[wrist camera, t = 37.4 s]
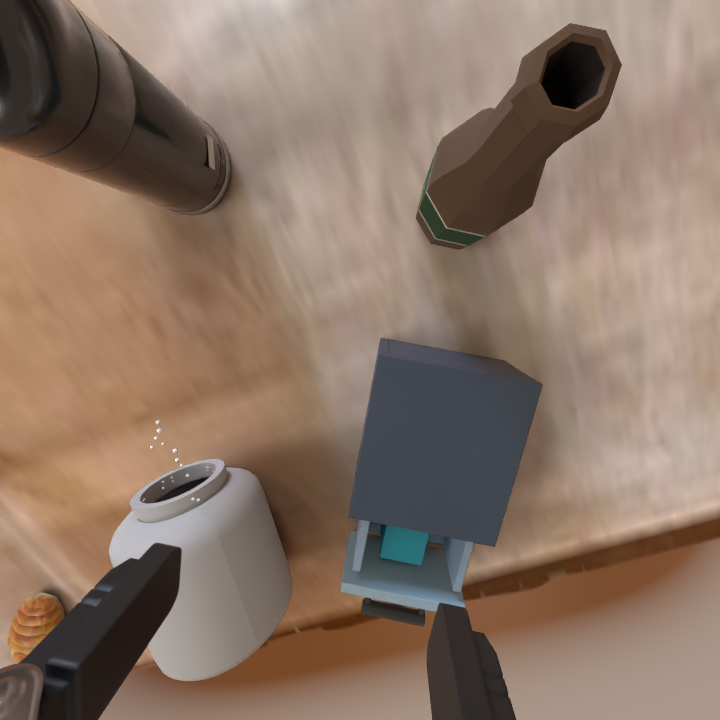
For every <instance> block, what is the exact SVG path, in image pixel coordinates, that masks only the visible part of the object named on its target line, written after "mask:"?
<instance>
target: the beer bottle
mask: <svg viewBox="0 0 720 720" xmlns="http://www.w3.org/2000/svg"><path fill="white" fill-rule="evenodd" d="M621 66H622V64H621V62H620V60H619V58H618V56H617V54H616V51H615V49H614V47H613V45H612V43H611V40H610V38H609V36H608V34H607V32H606V30H601V29H596V28H591V27H586V26H581V25H576V24H571V23H570V24H568V25H567V26H566V27H564V28H563V29H561V30H560V31H559V32H557V33H556V34H554V35H553V36H552V37H550V38H549V39H547V40H546V41H545V42H543V43H542V44H540V45H539V46H538V47H536V48H535V49H534V50H532V51H531V52H530V53H528V54H527V55H526V56H524V57H523V58H522V61H521V64H520V68H519V72H518V75H517V79H516V82H515V83H514V85H513V86H512V87H511V89H510V90H509V91H508V93H507V94H506V95H505V96H504V98H503V99H502V100H501V102H500V103H499V104H498V106H497V107H496V108H495V109H493V108H488V109H485V110H482V111H480V112H479V113H477V114H476V115H475V116H473V117H472V118H470V119H469V120H467V121H466V122H465V123H463V124H462V125H460V126H459V127H458V128H456V129H455V130H453V131H452V132H450V133H449V134H448V135H446V136H445V137H443V138H442V140H441V142H440V143H439V145H438V147H437V149H436V152H435V155H434V157H433V160H432V163H431V166H430V169H429V171H428V174H427V177H426V180H425V182H424V186H423V190H422V194H421V199H420V203H419V207H418V211H417V215H416V219H417V221H418V223H419V224H420V226H421V228H422V230H423V231H424V233H425V235H426V236H427V238H428V240H429V242H430V243H431V244H436V245H440V246H444V247H449V248H453V249H462V248H464V247H466V246H468V245H470V244H472V243H474V242H476V241H478V240H480V239H482V238H484V237H486V236H488V235H489V234H491V233H492V232H494V231H495V230H497V229H499V228H500V227H502V226H503V225H505V224H507V223H508V222H510V221H511V220H513V219H514V218H516V217H518V216H519V215H521V214H522V213H524V212H525V211H526V210H528V209H529V208H530V207H531V206H532V205H533V202H534V198H535V195H536V192H537V189H538V185H539V182H540V179H541V176H542V172H543V169H544V166H545V163H546V160H547V159H548V158H549V157H550V156H551V155H552V154H553V153H554V152H555V151H556V150H557V149H558V148H559V147H560V146H561V145H562V144H563V143H565V142H566V141H568V140H569V139H571V138H572V137H574V136H575V135H577V134H578V133H580V132H581V131H583V130H585V129H586V128H588V127H589V126H591V125H592V124H594V123H595V122H597V121H598V120H600V118H601V117H602V115H603V113H604V111H605V110H606V108H607V106H608V105H609V102H610V99H611V96H612V93H613V90H614V87H615V84H616V81H617V78H618V75H619V72H620V69H621Z"/></svg>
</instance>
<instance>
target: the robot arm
mask: <svg viewBox="0 0 720 720" xmlns="http://www.w3.org/2000/svg"><path fill="white" fill-rule="evenodd" d="M0 148H3V149H6V150H8V151H11V152H14V153H17V154H20V155H22V156H25V157H28V158H31V159H33V160H36V161H39V162H42V163H45V164H47V165H50V166H53V167H56V168H59V169H62V170H65V171H67V172H70V173H73V174H76V175H78V176H81V177H84V178H87V179H89V180H92V181H95V182H98V183H100V184H103V185H106V186H109V187H111V188H114V189H117V190H120V191H123V192H125V193H128V194H131V195H134V196H136V197H139V198H142V199H145V200H147V201H150V202H152V203H155V204H158V205H161V206H164V207H166V208H167V209H169V210H172V211H174V212H177V213H180V214H185V215H197V214H201V213H204V212H207V211H209V210H210V209H212V208H213V207H215V206H216V205H217V204H218V203H219V202H220V201H221V200H222V198H223V197H224V195H225V193H226V191H227V189H228V186H229V182H230V177H231V163H230V157H229V153H228V150H227V148H226V146H225V144H224V142H223V140H222V139H221V137H220V136H219V134H218V133H217V132H216V131H215V130H214V129H213V128H212V127H211V126H210V125H208V124H207V123H206V122H205V121H203V120H202V119H200V118H199V117H198V116H197V115H196V114H195V113H194V112H193V111H192V110H191V109H190V108H188V107H187V106H186V105H185V104H184V103H183V102H182V101H181V100H180V99H178V98H177V97H176V96H175V95H174V94H173V93H172V92H171V91H170V90H168V89H167V88H166V87H165V86H164V85H163V84H162V83H161V82H160V81H159V80H157V79H156V78H155V77H154V76H153V75H152V74H151V73H150V72H149V71H147V70H146V69H145V68H144V67H143V66H142V65H141V64H140V63H139V62H137V61H136V60H135V59H134V58H133V57H132V56H131V55H130V54H129V53H127V52H126V51H125V50H124V49H123V48H122V47H121V46H120V45H119V44H118V43H116V42H115V41H114V40H113V39H112V38H111V37H110V36H109V35H107V34H106V33H105V32H104V31H103V30H102V29H101V28H99V27H98V26H97V25H96V24H95V23H94V22H93V21H92V20H91V19H90V18H88V17H87V16H86V15H85V14H84V13H83V12H82V11H81V10H80V9H78V8H77V7H76V6H75V5H74V4H73V3H72V2H71V1H70V0H0ZM181 557H182V549H181V548H180V547H176V546H172V545H167V544H162V543H154V544H153V545H152V546H151V547H150V548H149V549H148V550H147V551H146V552H145V553H144V554H143V555H142V556H141V558H140V559H134V558H129V559H128V560H126V561H125V562H123V563H121V564H120V565H118V566H116V567H115V568H113V569H111V570H110V571H109V572H108V573H107V574H106V575H105V576H104V577H103V578H102V579H101V580H100V581H99V583H98V584H97V585H96V586H95V588H94V589H92V590H91V591H90V592H89V593H88V594H87V595H86V596H85V597H84V598H83V599H82V601H81V603H78V604H77V605H76V606H75V607H74V608H73V609H72V610H71V611H70V612H69V613H68V614H67V615H66V616H65V617H64V618H63V619H62V620H61V621H60V622H59V623H58V624H57V626H56V627H55V628H54V629H53V630H52V631H51V632H50V633H49V634H48V635H47V636H46V637H45V638H44V639H43V640H42V641H41V642H40V643H39V644H38V645H37V646H36V647H35V648H34V649H33V650H32V651H31V652H30V653H29V654H28V655H27V656H26V657H25V658H24V659H23V660H22V661H21V662H20V663H18V664H14V665H10V666H7V667H4V668H2V669H0V720H98V719H99V717H100V716H101V714H102V713H103V711H104V710H105V708H106V707H107V705H108V704H109V702H110V701H111V699H112V698H113V696H114V695H115V693H116V692H117V690H118V689H119V687H120V686H121V684H122V683H123V681H124V680H125V678H126V677H127V675H128V674H129V672H130V671H131V669H132V668H133V666H134V665H135V663H136V662H137V661H138V659H139V658H140V656H141V655H142V653H143V652H144V650H145V649H146V647H147V646H148V644H149V643H150V641H151V640H152V638H153V637H154V635H155V634H156V632H157V631H158V629H159V628H160V626H161V625H162V623H163V622H164V620H165V619H166V617H167V616H168V614H169V613H170V611H171V609H172V607H173V605H174V603H175V601H176V598H177V595H178V591H179V584H180V571H181ZM427 673H428V681H429V692H430V701H431V710H432V720H516V717H515V714H514V711H513V707H512V704H511V701H510V698H509V697H508V691H507V687H506V684H505V681H504V679H503V674H502V671H501V667H500V664H499V661H498V657H497V654H496V652H495V650H494V649H493V647H492V646H491V644H490V643H489V641H488V639H487V638H486V636H485V635H484V633H480V632H475V631H472V629H471V624H470V620H469V616H468V612H467V610H466V608H464V607H459V606H454V605H450V604H445V603H439V605H438V608H437V612H436V616H435V619H434V623H433V627H432V631H431V634H430V638H429V642H428V649H427Z"/></svg>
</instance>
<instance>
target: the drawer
mask: <svg viewBox="0 0 720 720" xmlns="http://www.w3.org/2000/svg"><path fill="white" fill-rule="evenodd" d="M380 528H381V524H379V523H374V522H369V521H364V520H359V521H358V527H357V532H356V531H352V530H350V532H349V537H348V544H347V550H346V557H345V563H344V570H343V576H342V583H341V589H340V592H343V593H347V594H352V595H357V596H362V597H365V599H363V601H362V607H361V613H362V614H366V615H371V616H375V617H380V618H385V619H390V620H394V621H399V622H405V623H409V624H413V625H418V626H424V623H425V610H428V611H433V612H437V608H438V605H439V603H445V604H450V605H454V606H459V607H464V608H465V604H464V599H463V595H462V591H461V589H462V585H463V581H464V578H465V574H466V571H467V567H468V563H469V560H470V556H471V553H472V549H473V545H474V543H473V542H469V541H464V540H459V539H454V538H449V537H444V536H439V535H434V534H429V538H428V542H433V543H438V544H443V547H444V549H440V548H435V547H431V546H426V550H425V554H424V558H423V562H422V565H421V566H420V565H415V564H410V563H405V562H401V561H396V560H391V559H386V558H381V557H380V536H376V535H371V534H368V530H373V531H378V532H380ZM371 599H376V600H381V601H386V602H390V603H395V604H400V605H405V606H409V607H414V608H418V610H416V609H410V608H406V607H401V606H397V605H392V604H387V603H382V602H378V601H373V600H371Z"/></svg>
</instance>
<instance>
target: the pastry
mask: <svg viewBox="0 0 720 720" xmlns="http://www.w3.org/2000/svg"><path fill="white" fill-rule="evenodd" d="M64 617H65V615H64V609H63V606H62V604H61V603H60V602H59V600H58V598H57V597H56V596H54V595H50V594H46V593H37V594H35V595H33V596H30V597H28V598H27V599H26V600H25V602H24V604H23V605H22V606H21V607H20V608H19V609H18V613H17V614H16V616H15V617H14V619H13V621H12V624H11V627H10V630H9V634H8V635H9V637H8V643H7V644H8V646H9V647H11V648H12V653H11V656H12V657H13V659H14V660H15V661H17V662H19V663H20V662H21V661H22V660H23V659H24V658H25V657H26V656H27V655H28V654H29V653H30V652H31V651H32V650H33V649H34V648H35V647H36V646H37V645H38V644H39V643H40V642H41V641H42V640H43V639H44V638H45V637H46V636H47V635H48V634H49V633H50V632H51V631H52V630H53V629H54V628H55V627H56V626H57V624H58V623H59V622H60V621H61V620H62V619H63V618H64Z"/></svg>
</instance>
